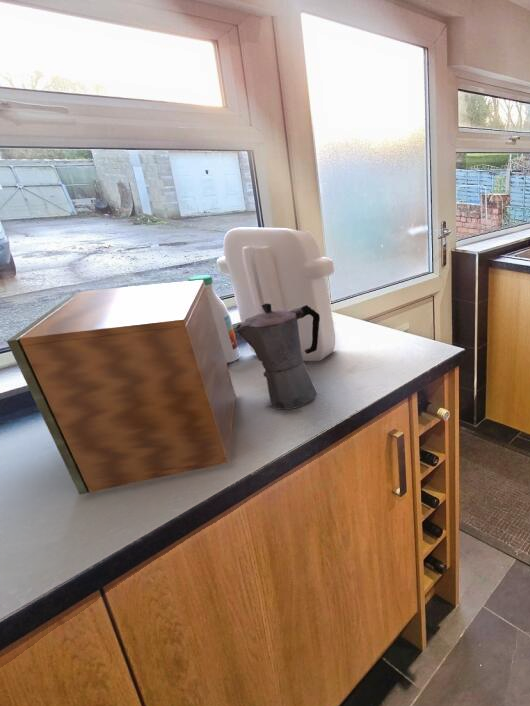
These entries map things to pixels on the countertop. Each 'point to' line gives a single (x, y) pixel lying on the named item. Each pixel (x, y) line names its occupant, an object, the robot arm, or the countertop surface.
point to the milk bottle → (221, 320)
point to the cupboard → (136, 381)
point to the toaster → (280, 279)
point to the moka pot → (282, 353)
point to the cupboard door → (42, 401)
